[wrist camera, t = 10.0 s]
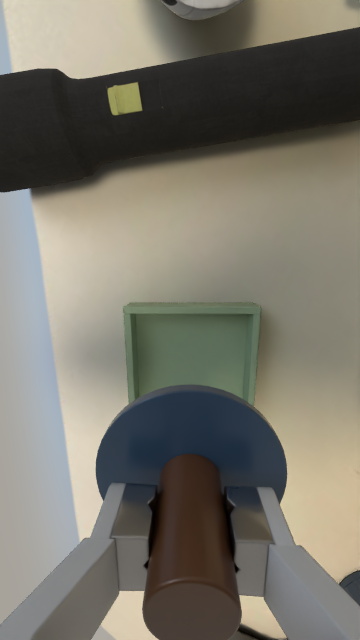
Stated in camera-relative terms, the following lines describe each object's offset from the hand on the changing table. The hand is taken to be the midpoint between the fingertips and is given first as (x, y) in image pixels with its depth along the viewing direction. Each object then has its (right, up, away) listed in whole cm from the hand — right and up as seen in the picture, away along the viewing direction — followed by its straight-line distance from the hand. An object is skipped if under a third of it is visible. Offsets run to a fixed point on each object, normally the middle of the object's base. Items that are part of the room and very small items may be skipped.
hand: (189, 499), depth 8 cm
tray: (+1, +3, +11) cm, 12 cm away
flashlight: (0, +19, +8) cm, 20 cm away
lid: (0, 0, +1) cm, 1 cm away
